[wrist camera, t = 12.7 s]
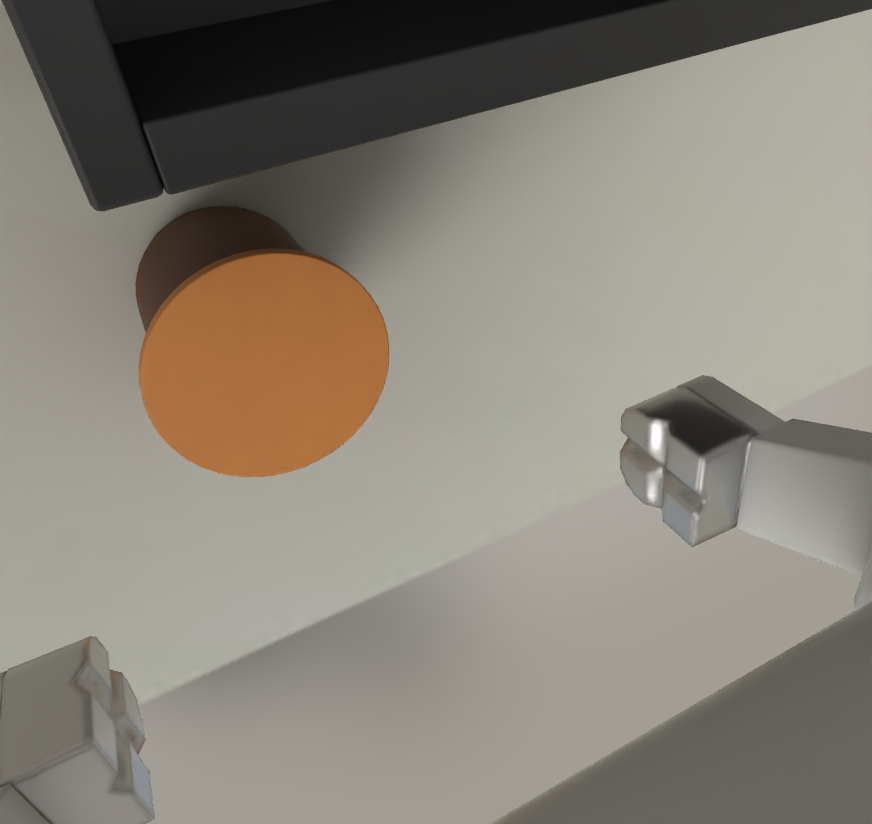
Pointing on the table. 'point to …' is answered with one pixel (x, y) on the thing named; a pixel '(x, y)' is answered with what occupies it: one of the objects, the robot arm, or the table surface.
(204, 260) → the disc
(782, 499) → the robot arm
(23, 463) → the table surface
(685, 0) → the dark grey storage bin
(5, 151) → the table surface
